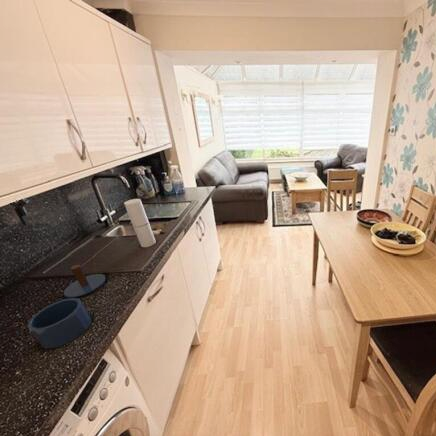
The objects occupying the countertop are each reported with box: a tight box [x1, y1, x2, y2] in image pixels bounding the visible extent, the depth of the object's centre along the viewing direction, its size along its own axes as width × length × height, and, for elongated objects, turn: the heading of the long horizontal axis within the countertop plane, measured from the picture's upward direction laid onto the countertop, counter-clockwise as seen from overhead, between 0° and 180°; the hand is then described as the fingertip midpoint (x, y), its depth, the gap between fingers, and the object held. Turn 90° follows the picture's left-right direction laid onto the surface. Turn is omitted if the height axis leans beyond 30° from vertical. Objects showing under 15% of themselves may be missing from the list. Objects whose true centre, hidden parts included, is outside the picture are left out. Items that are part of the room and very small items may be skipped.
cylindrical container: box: [123, 198, 157, 248], centre depth 122 cm, size 7×7×25 cm
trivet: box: [65, 273, 106, 299], centre depth 98 cm, size 12×12×1 cm
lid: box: [63, 264, 107, 298], centre depth 96 cm, size 14×14×10 cm
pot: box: [26, 298, 92, 349], centre depth 77 cm, size 13×13×8 cm
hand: (0, 229), depth 84 cm, fingers open, 13 cm apart
